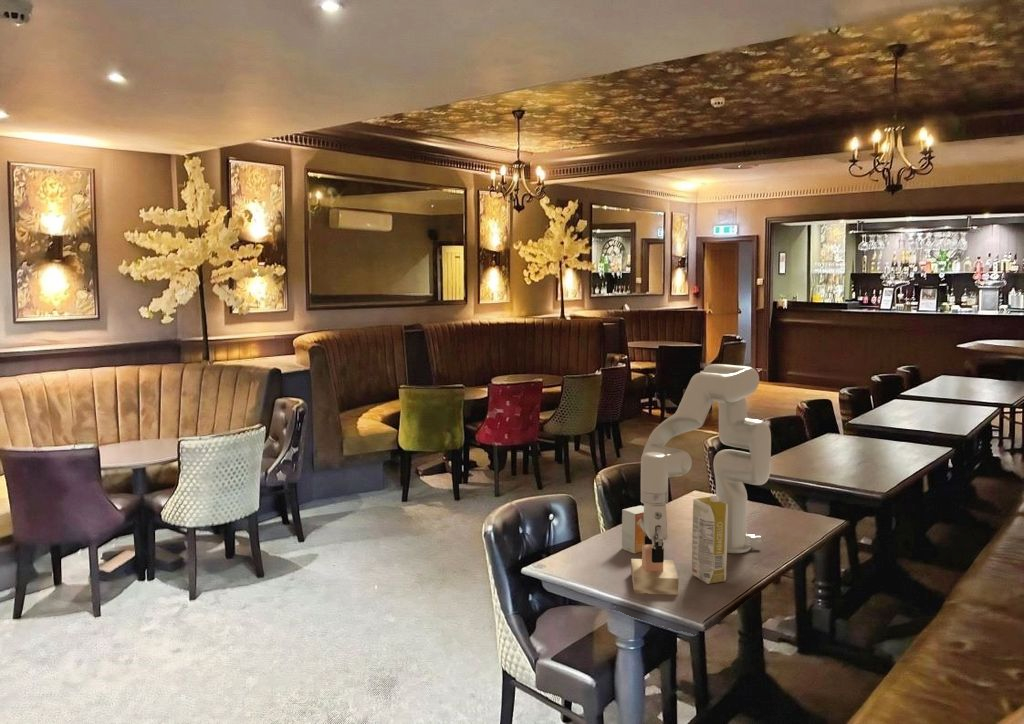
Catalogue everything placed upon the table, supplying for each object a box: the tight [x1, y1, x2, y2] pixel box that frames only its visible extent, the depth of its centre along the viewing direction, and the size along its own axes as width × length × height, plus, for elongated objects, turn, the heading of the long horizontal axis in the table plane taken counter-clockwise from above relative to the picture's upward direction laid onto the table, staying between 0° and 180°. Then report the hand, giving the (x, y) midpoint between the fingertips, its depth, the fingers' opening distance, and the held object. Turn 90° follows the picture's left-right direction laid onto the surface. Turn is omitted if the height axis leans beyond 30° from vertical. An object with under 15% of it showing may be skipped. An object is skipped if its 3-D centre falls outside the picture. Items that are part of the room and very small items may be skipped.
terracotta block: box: [641, 544, 663, 571], centre depth 214 cm, size 5×5×6 cm
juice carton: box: [691, 495, 728, 585], centre depth 217 cm, size 9×8×24 cm
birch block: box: [630, 558, 679, 596], centre depth 215 cm, size 12×14×5 cm
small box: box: [621, 504, 645, 555], centre depth 242 cm, size 8×6×13 cm
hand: (653, 555), depth 214 cm, fingers open, 9 cm apart
